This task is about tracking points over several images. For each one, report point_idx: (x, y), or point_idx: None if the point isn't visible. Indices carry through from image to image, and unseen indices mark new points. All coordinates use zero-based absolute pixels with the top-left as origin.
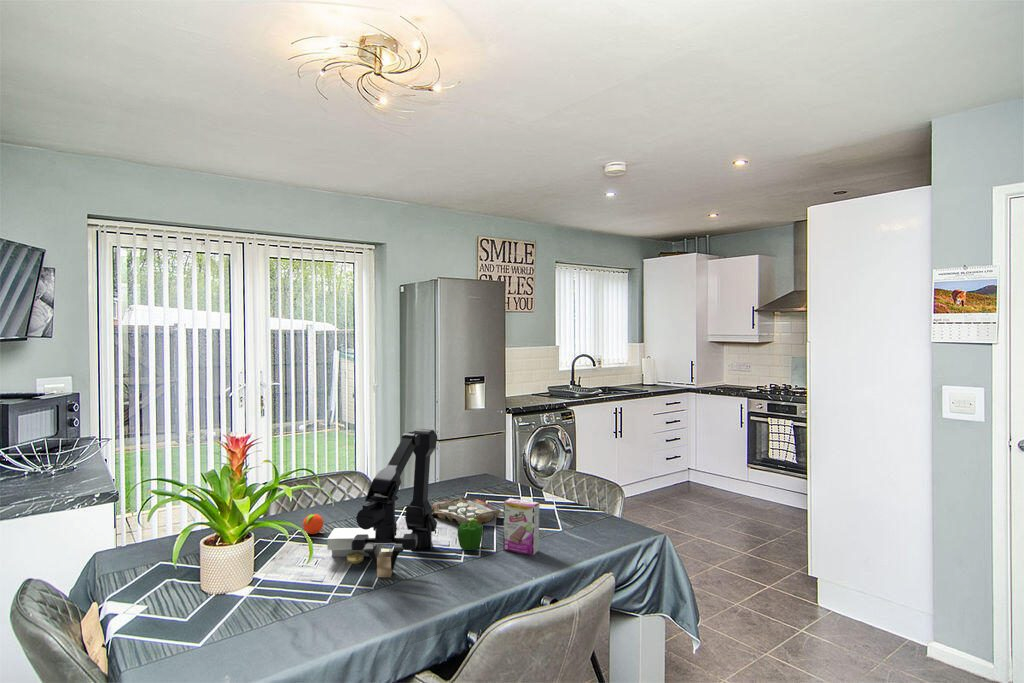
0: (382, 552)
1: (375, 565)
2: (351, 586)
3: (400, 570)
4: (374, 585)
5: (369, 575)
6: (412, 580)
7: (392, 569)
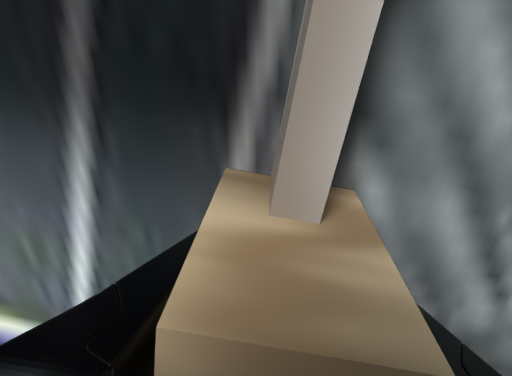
0: (227, 367)
1: None
2: None
3: (432, 188)
4: None
5: (144, 225)
6: None
7: None
